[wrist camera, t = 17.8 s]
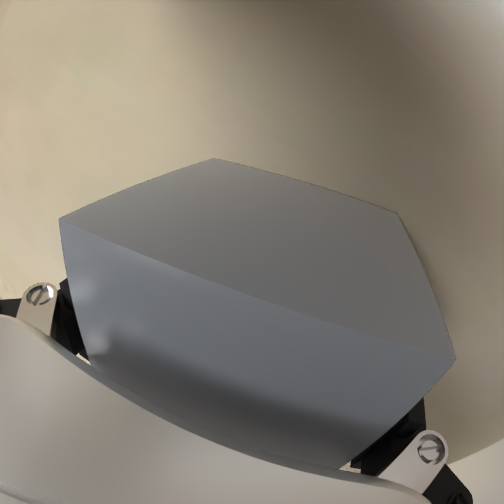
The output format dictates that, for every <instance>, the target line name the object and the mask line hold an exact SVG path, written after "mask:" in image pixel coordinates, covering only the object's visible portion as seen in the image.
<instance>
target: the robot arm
mask: <svg viewBox="0 0 504 504" xmlns="http://www.w3.org/2000/svg"><path fill="white" fill-rule="evenodd" d="M59 284H60V288H61V289H59V290H58V291H57V289H56V287H55V286H54V285H52V284H50V283H37V284H34V285H32V286H31V287H29V288H28V289H27V290H26V291H25V292H24V294H23V297H22V298H20V299H6V300H0V504H473V499H472V495H471V493H470V492H469V490H468V489H467V488H466V487H465V486H464V484H463V483H462V482H461V481H460V480H459V479H458V478H457V476H456V475H455V474H454V473H453V472H452V471H451V469H450V468H449V467H448V466H447V465H446V464H445V462H446V460H447V458H448V453H449V450H448V445H447V443H446V440H445V439H444V438H443V436H442V435H440V434H439V433H438V432H436V431H433V430H426V420H425V408H424V398H422V399H421V400H420V401H419V402H418V403H417V404H416V405H415V406H414V407H413V408H412V409H411V410H410V411H409V412H408V413H407V414H405V415H404V416H403V417H402V418H401V419H400V420H399V421H398V422H397V423H396V424H395V425H394V426H392V427H391V428H390V429H389V430H388V431H387V432H386V433H385V434H383V435H382V436H381V437H380V438H379V439H377V440H376V441H375V442H374V443H373V444H371V445H370V446H369V447H368V448H366V449H365V450H364V451H362V452H361V453H360V454H359V455H357V456H356V457H355V458H353V459H352V460H351V465H350V467H351V468H357V469H361V473H360V474H359V473H355V472H349V471H344V470H338V469H334V468H329V467H324V466H320V465H316V464H312V463H308V462H304V461H300V460H296V459H292V458H289V457H285V456H282V455H278V454H275V453H271V452H268V451H265V450H262V449H259V448H256V447H253V446H250V445H247V444H244V443H242V442H239V441H236V440H233V439H231V438H228V437H226V436H223V435H220V434H218V433H215V432H213V431H211V430H208V429H206V428H203V427H201V426H199V425H197V424H194V423H192V422H190V421H188V420H186V419H183V418H181V417H179V416H177V415H175V414H173V413H171V412H169V411H167V410H165V409H163V408H161V407H159V406H157V405H155V404H153V403H151V402H150V401H148V400H146V399H144V398H142V397H140V396H139V395H137V394H135V393H133V392H132V391H130V390H128V389H126V388H125V387H123V386H121V385H120V384H118V383H116V382H115V381H113V380H112V379H110V378H108V377H107V376H105V375H104V374H102V373H101V372H99V371H97V370H96V369H94V368H93V367H91V366H90V365H89V364H87V363H86V362H84V361H83V360H81V359H80V358H78V357H77V356H76V355H77V354H78V353H79V354H80V355H81V356H82V357H84V358H85V359H87V360H88V361H89V358H88V355H87V352H86V349H85V346H84V343H83V339H82V336H81V332H80V329H79V325H78V322H77V318H76V314H75V310H74V306H73V302H72V297H71V293H70V288H69V283H68V278H66V279H65V280H63V281H62V282H61V283H59Z"/></svg>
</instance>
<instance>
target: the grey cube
mask: <svg viewBox="0 0 504 504" xmlns="http://www.w3.org/2000/svg"><path fill="white" fill-rule="evenodd" d="M59 227H60V235H61V243H62V250H63V256H64V262H65V268H66V273H67V278H68V283H69V288H70V293H71V297H72V302H73V306H74V310H75V314H76V318H77V322H78V325H79V329H80V332H81V336H82V339H83V343H84V346H85V349H86V352H87V355H88V358H89V361H90V364H91V367H93V368H94V369H96V370H97V371H99V372H101V373H102V374H104V375H105V376H107V377H108V378H110V379H112V380H113V381H115V382H116V383H118V384H120V385H121V386H123V387H125V388H126V389H128V390H130V391H132V392H133V393H135V394H137V395H139V396H140V397H142V398H144V399H146V400H148V401H150V402H151V403H153V404H155V405H157V406H159V407H161V408H163V409H165V410H167V411H169V412H171V413H173V414H175V415H177V416H179V417H181V418H183V419H186V420H188V421H190V422H192V423H194V424H197V425H199V426H201V427H203V428H206V429H208V430H211V431H213V432H215V433H218V434H220V435H223V436H226V437H228V438H231V439H233V440H236V441H239V442H242V443H244V444H247V445H250V446H253V447H256V448H259V449H262V450H265V451H268V452H271V453H275V454H278V455H282V456H285V457H289V458H292V459H296V460H300V461H304V462H308V463H312V464H316V465H320V466H324V467H329V468H334V469H339V468H341V467H342V466H344V465H345V464H346V463H348V462H349V461H351V460H352V459H353V458H355V457H356V456H357V455H359V454H360V453H361V452H362V451H364V450H365V449H366V448H368V447H369V446H370V445H371V444H373V443H374V442H375V441H376V440H377V439H379V438H380V437H381V436H382V435H383V434H385V433H386V432H387V431H388V430H389V429H390V428H391V427H392V426H394V425H395V424H396V423H397V422H398V421H399V420H400V419H401V418H402V417H403V416H404V415H405V414H407V413H408V412H409V411H410V410H411V409H412V408H413V407H414V406H415V405H416V404H417V403H418V402H419V401H420V400H421V399H422V398H423V397H424V395H425V394H426V393H427V392H428V391H429V390H430V389H431V388H432V387H433V386H434V385H435V384H436V382H437V381H438V380H439V379H440V378H441V377H442V376H443V375H444V373H445V372H446V371H447V370H448V369H449V367H450V366H451V365H452V364H453V363H454V361H455V360H456V356H455V353H454V349H453V346H452V343H451V340H450V336H449V333H448V330H447V327H446V324H445V322H444V319H443V316H442V313H441V310H440V308H439V305H438V302H437V300H436V297H435V295H434V292H433V289H432V287H431V285H430V282H429V280H428V277H427V275H426V273H425V270H424V268H423V266H422V264H421V261H420V259H419V257H418V255H417V253H416V250H415V248H414V246H413V244H412V242H411V240H410V238H409V236H408V234H407V232H406V230H405V228H404V226H403V224H402V222H401V220H400V218H399V216H398V214H397V213H395V212H392V211H389V210H387V209H384V208H381V207H379V206H376V205H373V204H370V203H367V202H364V201H362V200H359V199H356V198H353V197H350V196H347V195H344V194H341V193H338V192H335V191H332V190H329V189H325V188H322V187H319V186H316V185H312V184H309V183H306V182H302V181H299V180H296V179H292V178H289V177H285V176H282V175H278V174H274V173H271V172H267V171H263V170H259V169H256V168H252V167H248V166H244V165H240V164H236V163H232V162H227V161H223V160H219V159H214V158H213V159H209V160H206V161H203V162H200V163H197V164H194V165H191V166H188V167H185V168H182V169H179V170H176V171H173V172H170V173H167V174H164V175H162V176H159V177H156V178H153V179H151V180H148V181H145V182H143V183H140V184H137V185H135V186H132V187H130V188H127V189H125V190H122V191H120V192H117V193H115V194H112V195H110V196H108V197H105V198H103V199H101V200H98V201H96V202H94V203H91V204H89V205H87V206H85V207H82V208H80V209H78V210H76V211H74V212H72V213H69V214H67V215H65V216H63V217H61V218H59Z"/></svg>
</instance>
